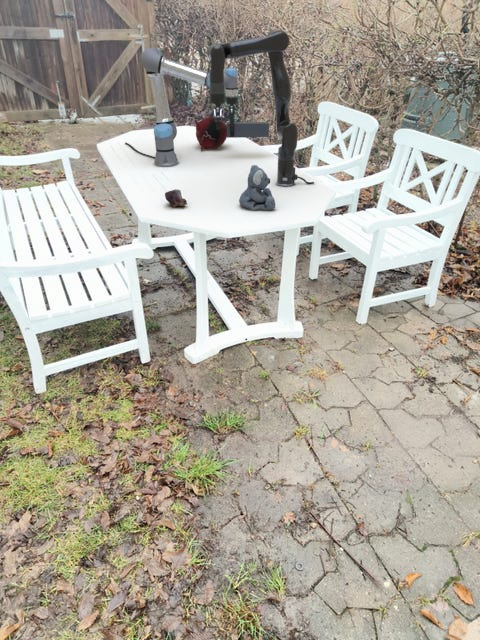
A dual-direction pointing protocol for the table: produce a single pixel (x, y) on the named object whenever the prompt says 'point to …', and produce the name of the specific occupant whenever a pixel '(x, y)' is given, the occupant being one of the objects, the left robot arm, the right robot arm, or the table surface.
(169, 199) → the rock
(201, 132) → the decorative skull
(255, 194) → the koala plush
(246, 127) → the bar
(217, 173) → the table surface
